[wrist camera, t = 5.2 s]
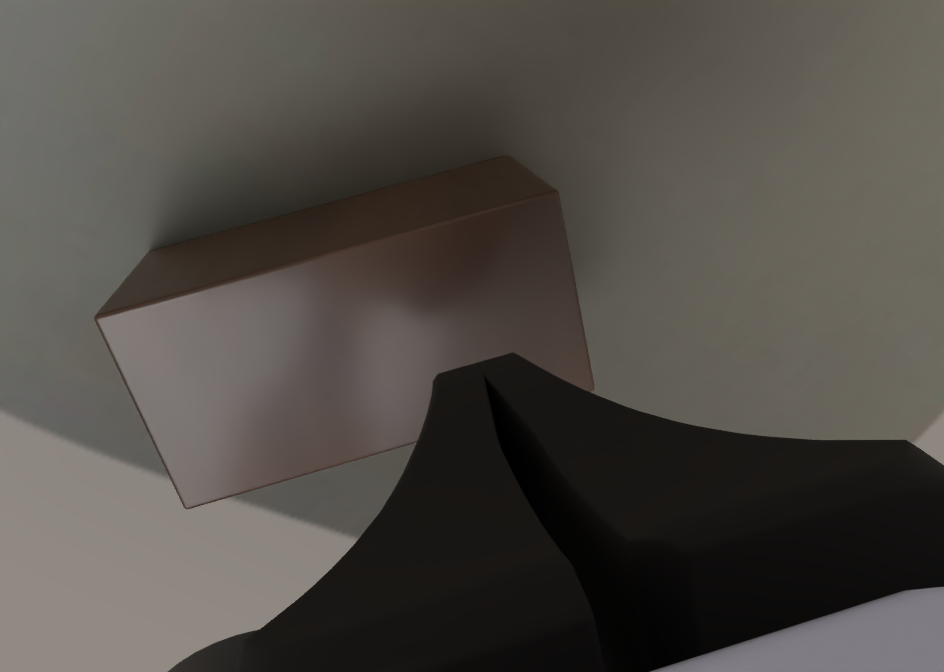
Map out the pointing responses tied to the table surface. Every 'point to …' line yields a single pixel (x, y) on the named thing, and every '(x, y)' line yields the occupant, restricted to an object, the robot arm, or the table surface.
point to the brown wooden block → (340, 324)
